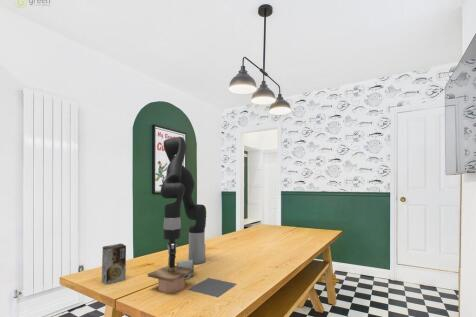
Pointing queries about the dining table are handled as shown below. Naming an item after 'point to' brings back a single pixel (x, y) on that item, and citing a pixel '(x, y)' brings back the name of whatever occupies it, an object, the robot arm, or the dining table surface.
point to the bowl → (170, 285)
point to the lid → (170, 273)
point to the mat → (212, 287)
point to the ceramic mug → (186, 266)
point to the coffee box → (113, 263)
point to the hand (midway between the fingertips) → (171, 264)
